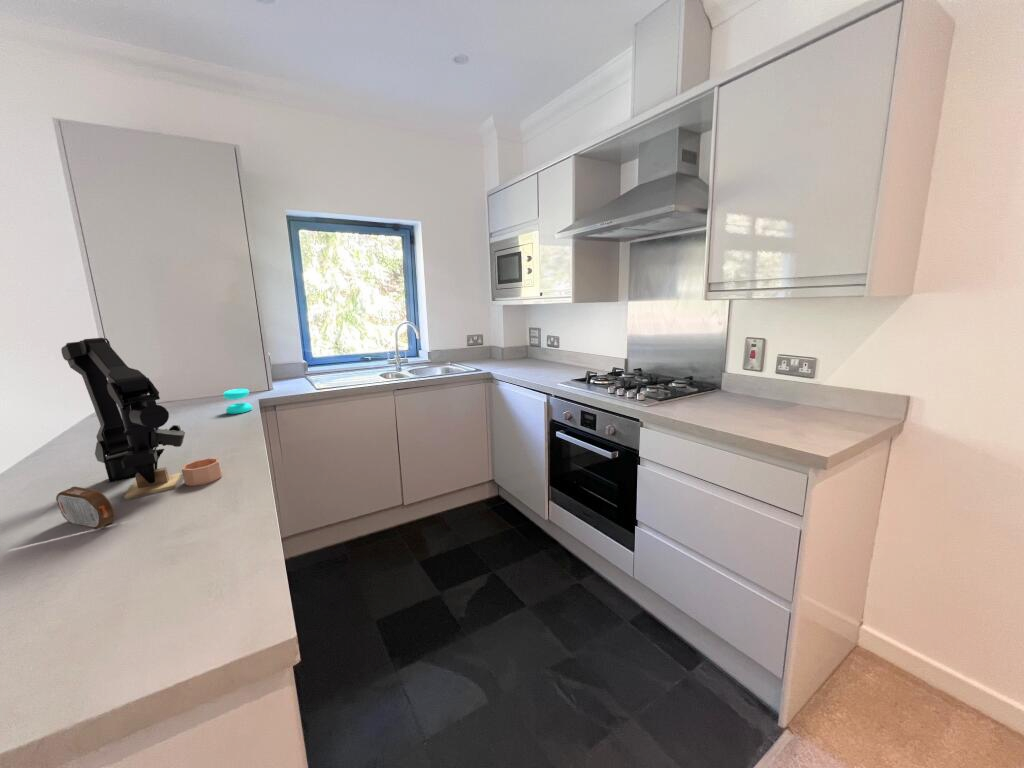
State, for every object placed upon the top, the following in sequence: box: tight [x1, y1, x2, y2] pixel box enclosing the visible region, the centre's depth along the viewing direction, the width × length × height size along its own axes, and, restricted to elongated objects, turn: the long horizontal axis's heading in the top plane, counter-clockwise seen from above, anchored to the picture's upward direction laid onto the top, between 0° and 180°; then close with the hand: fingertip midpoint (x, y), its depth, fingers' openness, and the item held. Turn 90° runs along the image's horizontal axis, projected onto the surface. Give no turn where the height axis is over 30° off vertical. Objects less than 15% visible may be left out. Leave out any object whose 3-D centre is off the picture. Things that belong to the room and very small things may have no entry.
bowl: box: [181, 457, 223, 487], centre depth 114 cm, size 8×8×5 cm
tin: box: [55, 486, 116, 530], centre depth 93 cm, size 15×3×8 cm, turn 71°
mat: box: [118, 473, 184, 503], centre depth 112 cm, size 12×12×1 cm
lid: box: [124, 466, 181, 499], centre depth 111 cm, size 10×10×4 cm
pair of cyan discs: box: [222, 388, 253, 415], centre depth 191 cm, size 10×10×10 cm
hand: (153, 481), depth 111 cm, fingers closed on lid, 2 cm apart
